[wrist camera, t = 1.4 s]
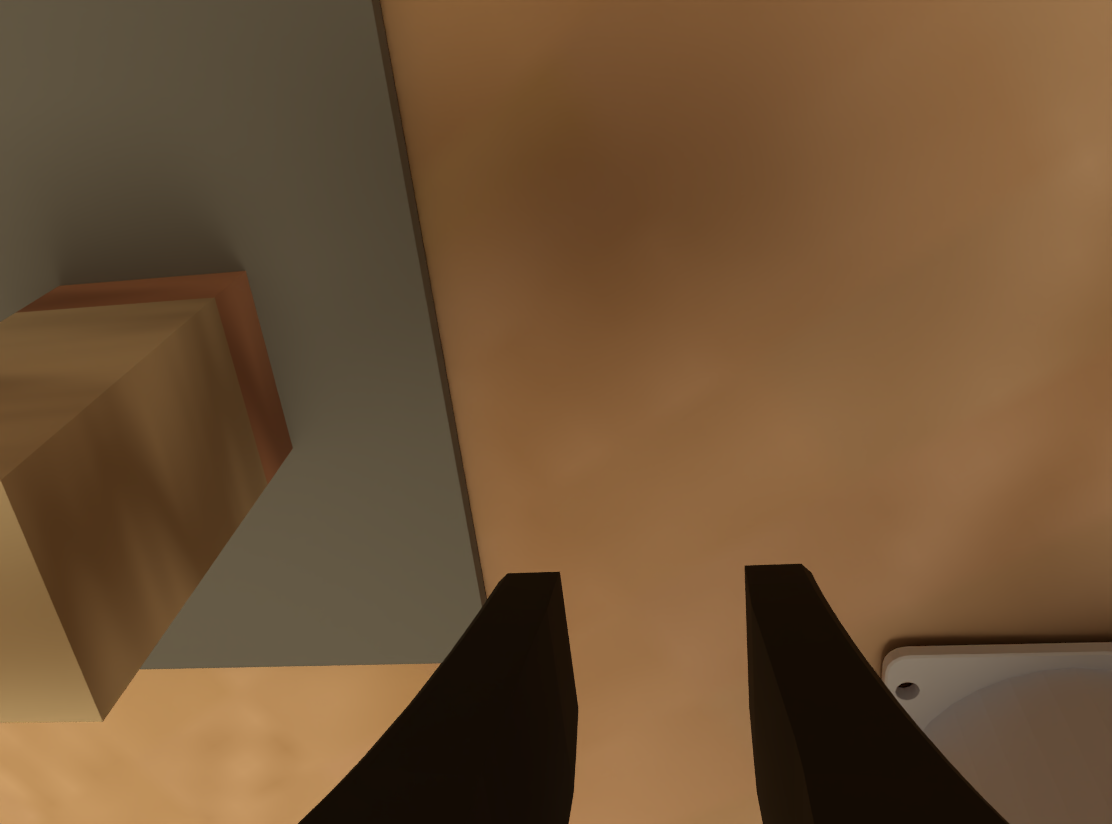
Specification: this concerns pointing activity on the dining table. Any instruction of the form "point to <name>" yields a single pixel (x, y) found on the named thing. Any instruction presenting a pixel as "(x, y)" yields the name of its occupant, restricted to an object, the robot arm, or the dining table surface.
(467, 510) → the rubber mat
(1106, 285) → the dining table surface
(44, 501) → the maple block
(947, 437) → the dining table surface
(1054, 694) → the robot arm
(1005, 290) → the dining table surface
